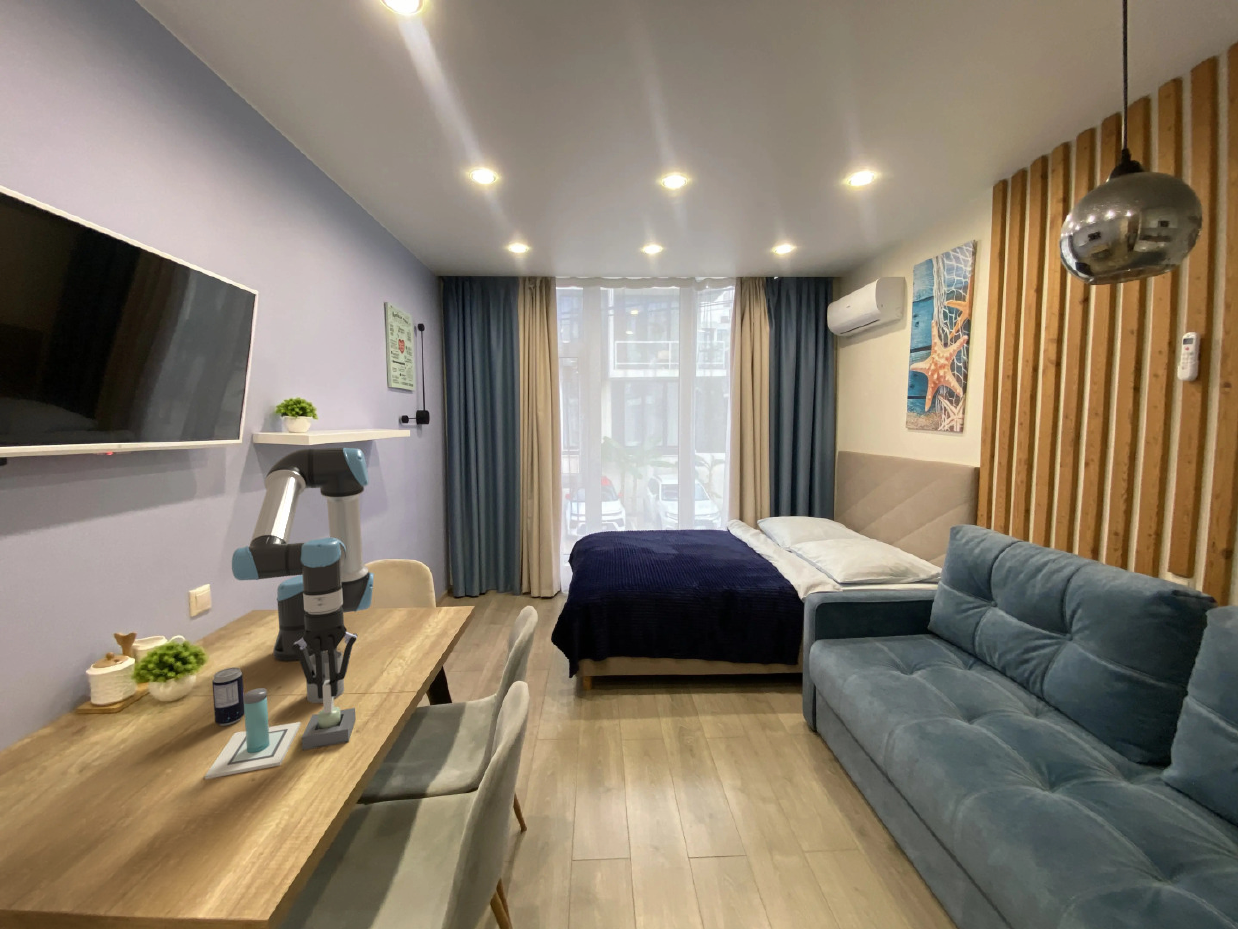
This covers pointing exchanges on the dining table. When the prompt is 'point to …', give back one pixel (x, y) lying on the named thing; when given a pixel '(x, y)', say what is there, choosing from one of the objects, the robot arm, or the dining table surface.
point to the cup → (312, 688)
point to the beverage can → (228, 696)
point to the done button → (329, 718)
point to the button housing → (328, 731)
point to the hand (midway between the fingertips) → (328, 710)
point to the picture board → (242, 761)
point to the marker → (256, 720)
